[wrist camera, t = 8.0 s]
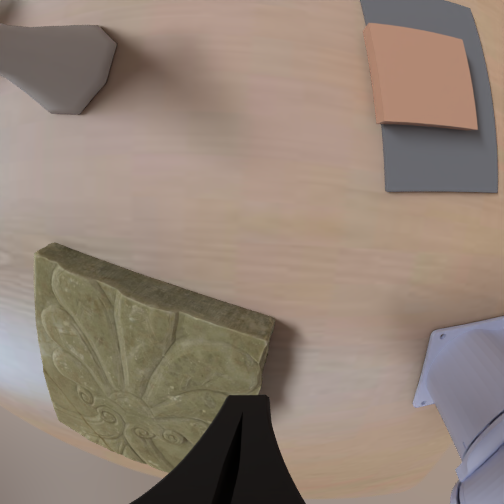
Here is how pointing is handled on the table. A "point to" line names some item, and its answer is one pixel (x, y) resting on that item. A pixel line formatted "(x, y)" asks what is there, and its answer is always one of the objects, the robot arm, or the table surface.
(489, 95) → the mat
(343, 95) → the table surface
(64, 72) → the flask
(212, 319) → the decorative tile
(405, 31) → the tile
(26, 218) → the table surface
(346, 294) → the table surface
